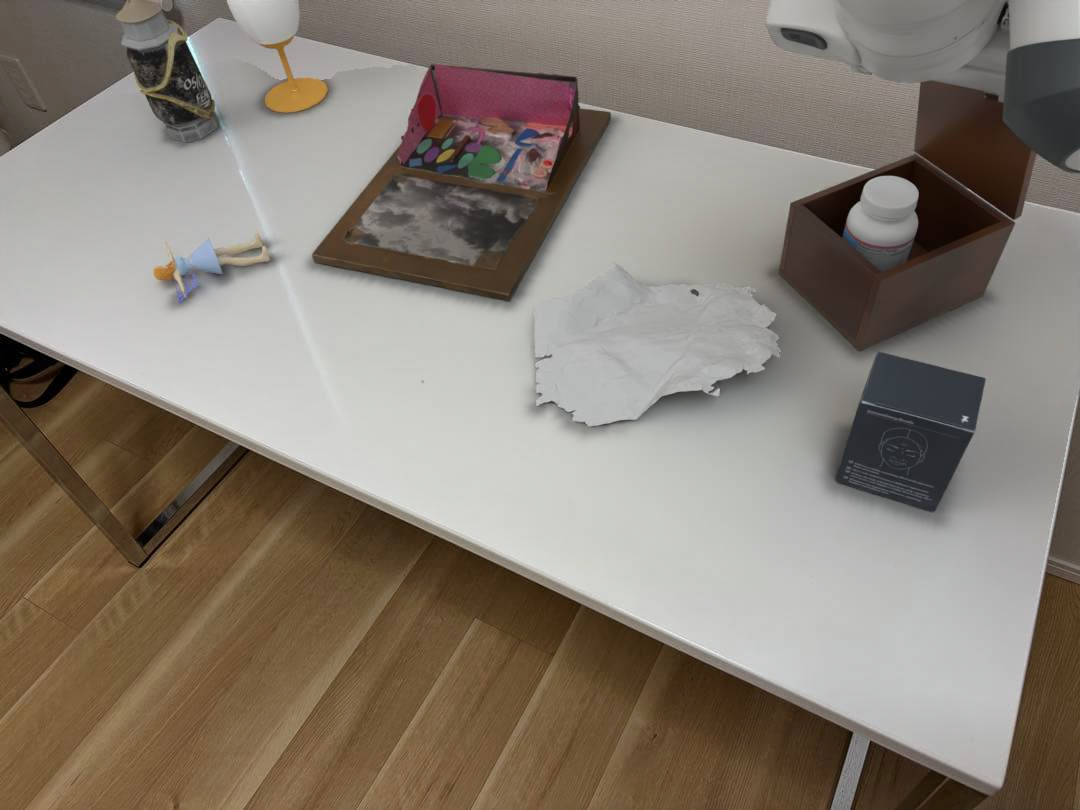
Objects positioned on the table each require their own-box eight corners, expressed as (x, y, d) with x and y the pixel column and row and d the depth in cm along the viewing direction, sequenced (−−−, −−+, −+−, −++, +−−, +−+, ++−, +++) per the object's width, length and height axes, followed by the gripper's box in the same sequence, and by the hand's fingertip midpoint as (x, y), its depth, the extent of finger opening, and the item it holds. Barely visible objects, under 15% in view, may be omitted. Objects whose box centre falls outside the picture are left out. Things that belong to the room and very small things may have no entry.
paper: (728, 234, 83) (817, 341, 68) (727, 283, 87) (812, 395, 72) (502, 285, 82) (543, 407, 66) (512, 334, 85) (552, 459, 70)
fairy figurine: (272, 255, 87) (156, 288, 83) (282, 290, 91) (172, 323, 87) (245, 201, 94) (137, 229, 90) (255, 235, 97) (152, 264, 94)
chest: (859, 351, 75) (880, 280, 69) (778, 273, 83) (790, 202, 76) (983, 296, 78) (1015, 222, 72) (894, 225, 86) (915, 153, 79)
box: (946, 461, 67) (989, 376, 59) (933, 515, 64) (976, 433, 56) (849, 432, 70) (877, 347, 62) (832, 482, 67) (859, 400, 59)
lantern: (236, 120, 113) (153, -76, 93) (193, 151, 108) (97, -47, 89) (193, 108, 116) (104, -84, 97) (150, 137, 112) (49, -57, 93)
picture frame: (614, 120, 104) (613, 58, 97) (509, 303, 84) (499, 241, 78) (445, 99, 111) (433, 40, 105) (311, 262, 91) (287, 202, 85)
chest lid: (1050, 68, 59) (1108, 34, 59) (927, 3, 67) (978, -27, 67) (1013, 220, 71) (1061, 192, 71) (913, 151, 79) (957, 125, 79)
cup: (337, 80, 117) (302, -37, 105) (312, 114, 112) (272, -5, 99) (281, 78, 119) (240, -37, 107) (254, 111, 114) (207, -6, 101)
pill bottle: (839, 259, 82) (863, 164, 74) (902, 274, 80) (934, 177, 71) (824, 298, 79) (846, 203, 70) (889, 314, 77) (921, 218, 68)
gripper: (1152, -33, 42) (1110, 60, 54) (777, -82, 51) (814, 8, 63) (1096, 89, 43) (1068, 153, 55) (740, 21, 52) (783, 89, 64)
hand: (931, 76), depth 59 cm, fingers open, 8 cm apart
